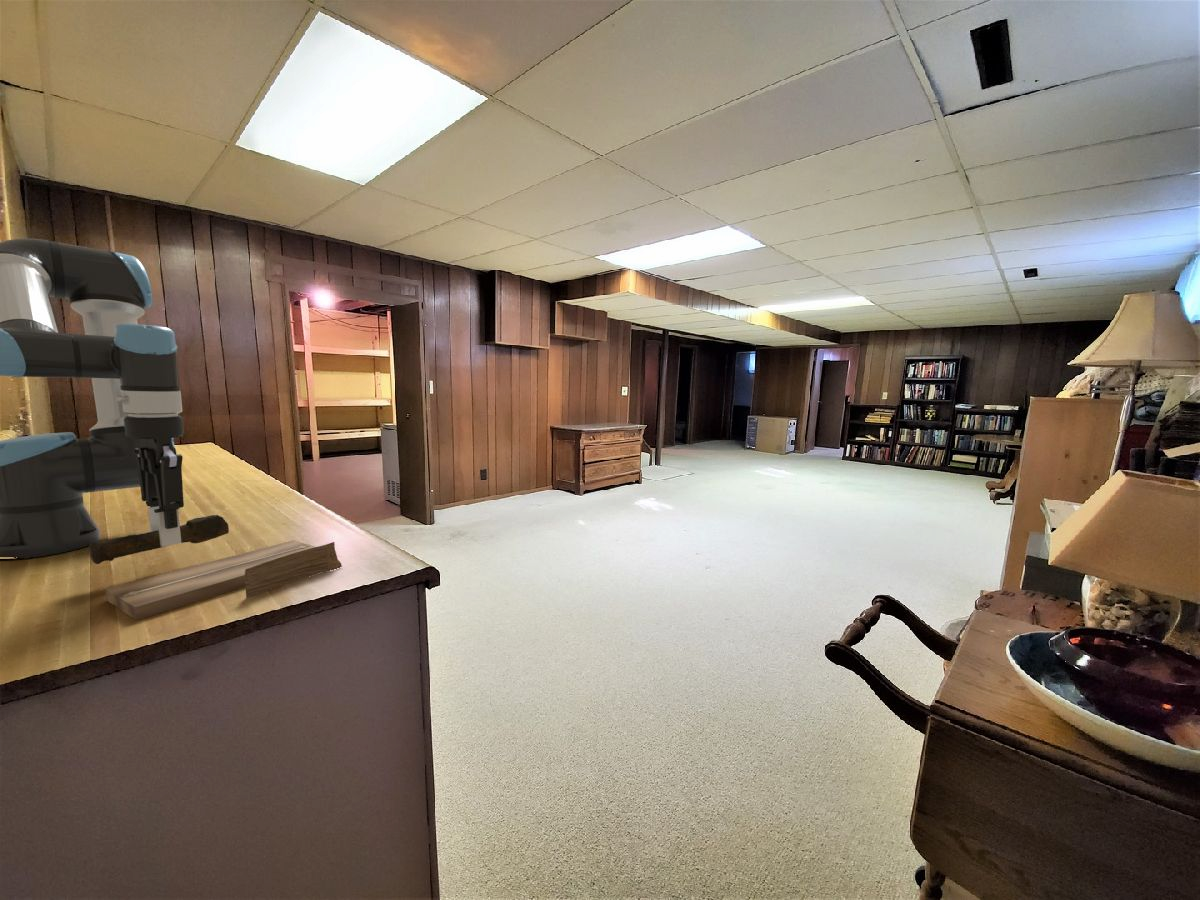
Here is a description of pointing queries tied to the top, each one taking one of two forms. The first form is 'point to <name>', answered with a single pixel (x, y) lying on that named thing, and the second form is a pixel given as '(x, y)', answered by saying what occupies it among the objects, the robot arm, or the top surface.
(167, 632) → the top surface
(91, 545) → the dark brown rod
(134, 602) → the board
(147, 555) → the top surface
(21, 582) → the top surface
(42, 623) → the top surface
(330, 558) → the wood plank
